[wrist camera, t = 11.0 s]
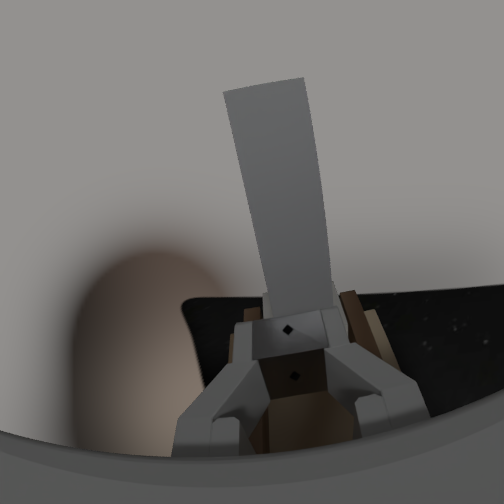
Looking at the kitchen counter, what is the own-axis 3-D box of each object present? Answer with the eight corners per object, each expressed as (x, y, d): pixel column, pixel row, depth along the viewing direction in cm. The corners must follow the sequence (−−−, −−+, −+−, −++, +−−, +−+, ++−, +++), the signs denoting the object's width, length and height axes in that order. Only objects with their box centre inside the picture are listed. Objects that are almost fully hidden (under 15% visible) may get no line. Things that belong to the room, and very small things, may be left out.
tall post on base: (335, 314, 21) (305, 77, 14) (348, 358, 17) (322, 75, 10) (270, 326, 21) (216, 93, 14) (272, 371, 18) (204, 96, 11)
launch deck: (369, 386, 25) (375, 285, 20) (416, 600, 8) (485, 605, 2) (255, 405, 26) (223, 312, 21) (256, 625, 9) (195, 651, 3)
